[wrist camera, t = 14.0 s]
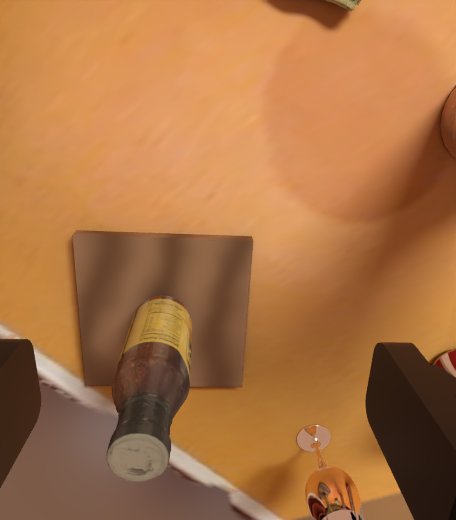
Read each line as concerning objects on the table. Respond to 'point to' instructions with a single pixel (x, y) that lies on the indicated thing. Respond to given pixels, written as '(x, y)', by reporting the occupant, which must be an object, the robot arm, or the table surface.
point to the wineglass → (328, 482)
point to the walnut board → (163, 283)
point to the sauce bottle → (150, 388)
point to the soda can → (448, 362)
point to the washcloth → (345, 3)
